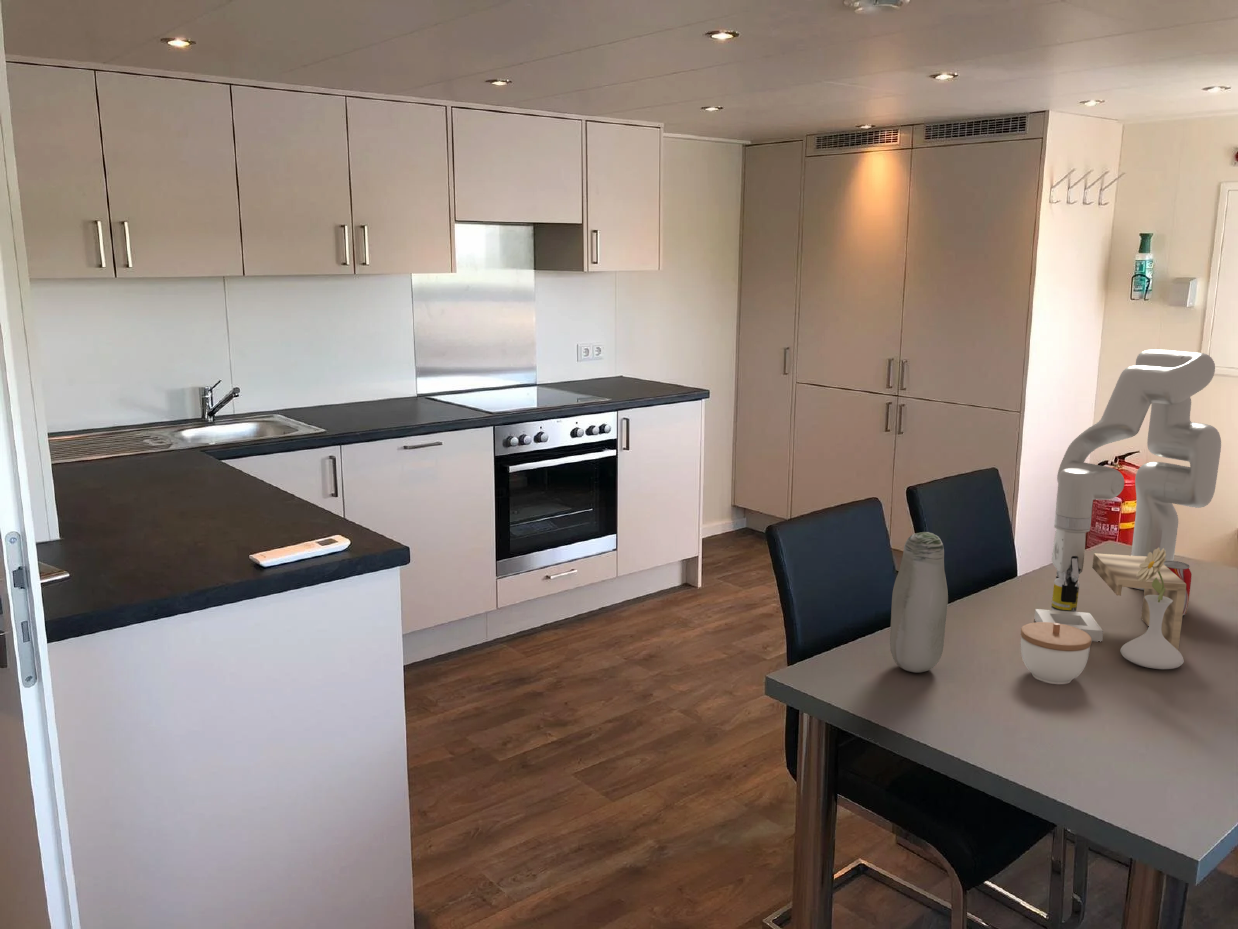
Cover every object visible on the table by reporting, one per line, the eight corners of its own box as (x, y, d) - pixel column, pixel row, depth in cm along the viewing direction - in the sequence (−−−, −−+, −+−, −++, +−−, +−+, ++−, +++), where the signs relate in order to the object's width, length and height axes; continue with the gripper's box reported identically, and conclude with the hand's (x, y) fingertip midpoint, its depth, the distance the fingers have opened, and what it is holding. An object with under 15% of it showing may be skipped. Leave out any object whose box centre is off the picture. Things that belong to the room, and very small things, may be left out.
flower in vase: (1124, 648, 208) (1137, 534, 203) (1185, 661, 201) (1201, 543, 196) (1113, 668, 197) (1127, 548, 193) (1178, 682, 191) (1193, 558, 186)
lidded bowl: (1033, 659, 202) (1038, 608, 200) (1097, 677, 193) (1102, 624, 191) (1006, 676, 193) (1010, 623, 191) (1071, 696, 184) (1077, 640, 182)
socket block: (1034, 619, 225) (1035, 609, 224) (1088, 623, 222) (1089, 612, 222) (1045, 637, 214) (1046, 626, 213) (1102, 641, 211) (1103, 630, 211)
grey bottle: (928, 684, 189) (938, 543, 184) (879, 669, 196) (888, 533, 191) (950, 669, 196) (960, 533, 191) (902, 655, 203) (911, 524, 198)
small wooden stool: (1087, 614, 228) (1093, 553, 225) (1148, 618, 226) (1155, 557, 223) (1111, 646, 209) (1118, 579, 206) (1177, 651, 206) (1186, 584, 204)
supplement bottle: (1074, 616, 227) (1078, 576, 225) (1049, 612, 229) (1053, 572, 227) (1078, 609, 231) (1082, 570, 229) (1053, 605, 234) (1057, 566, 232)
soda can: (1193, 619, 226) (1199, 569, 223) (1161, 618, 226) (1168, 568, 224) (1176, 608, 233) (1182, 559, 230) (1146, 608, 233) (1152, 559, 230)
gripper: (1047, 512, 235) (1040, 585, 239) (1063, 531, 219) (1056, 608, 222) (1080, 514, 233) (1073, 587, 237) (1099, 533, 217) (1091, 611, 221)
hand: (1065, 596), depth 230 cm, fingers closed on supplement bottle, 5 cm apart
